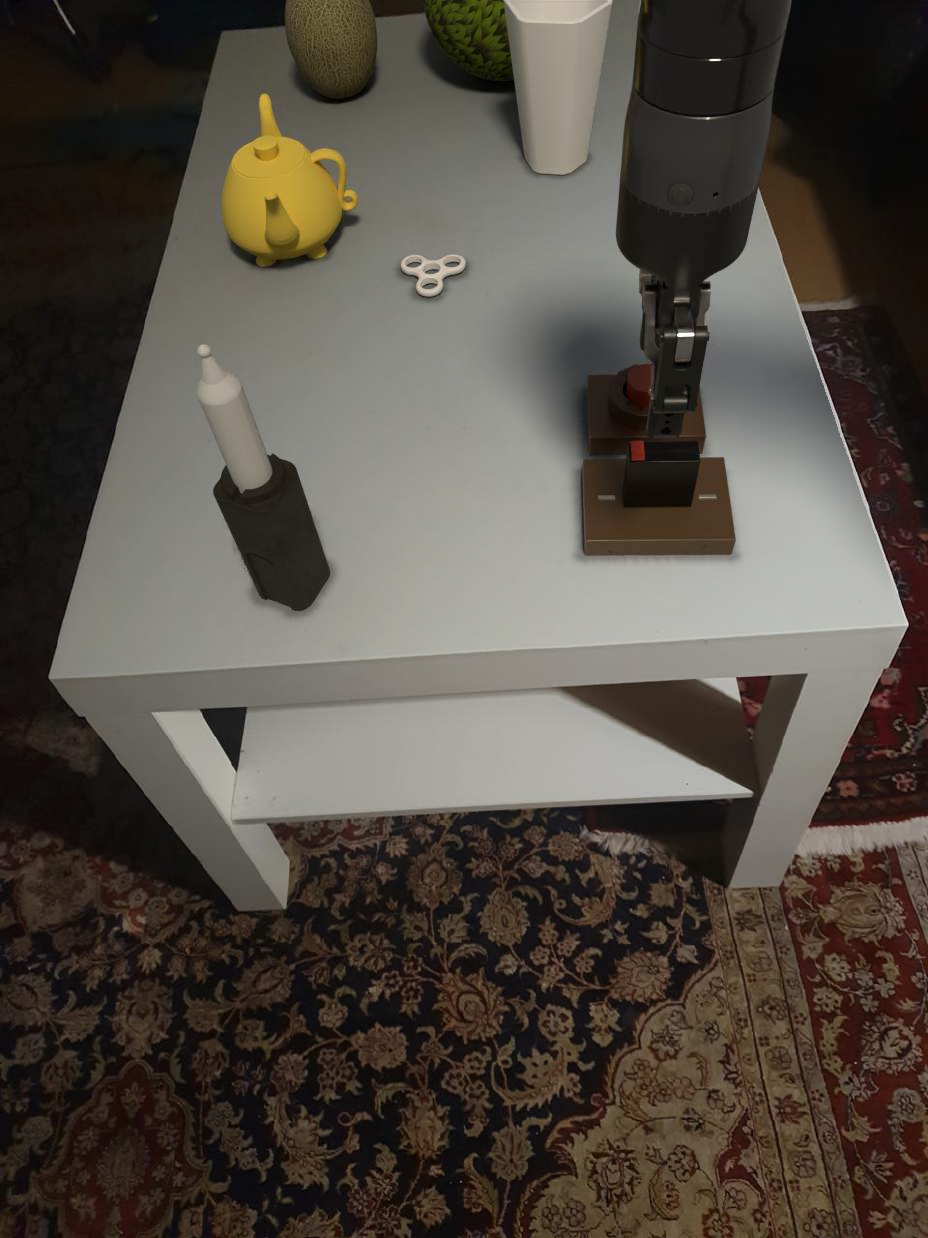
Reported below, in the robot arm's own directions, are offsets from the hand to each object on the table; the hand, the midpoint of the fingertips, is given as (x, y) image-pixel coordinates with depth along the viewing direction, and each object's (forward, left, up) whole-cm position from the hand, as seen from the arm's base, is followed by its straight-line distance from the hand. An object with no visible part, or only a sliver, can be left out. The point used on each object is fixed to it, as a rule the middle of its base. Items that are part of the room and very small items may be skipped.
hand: (658, 389), depth 63 cm
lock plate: (-1, -3, -16) cm, 17 cm away
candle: (+25, +14, -17) cm, 33 cm away
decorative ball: (+38, -68, -17) cm, 80 cm away
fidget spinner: (+30, -26, -16) cm, 43 cm away
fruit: (+57, -58, -17) cm, 83 cm away
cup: (+25, -51, -17) cm, 59 cm away
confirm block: (+3, -13, -16) cm, 21 cm away
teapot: (+48, -28, -17) cm, 58 cm away
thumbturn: (-1, -3, -14) cm, 15 cm away
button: (+3, -13, -13) cm, 18 cm away
